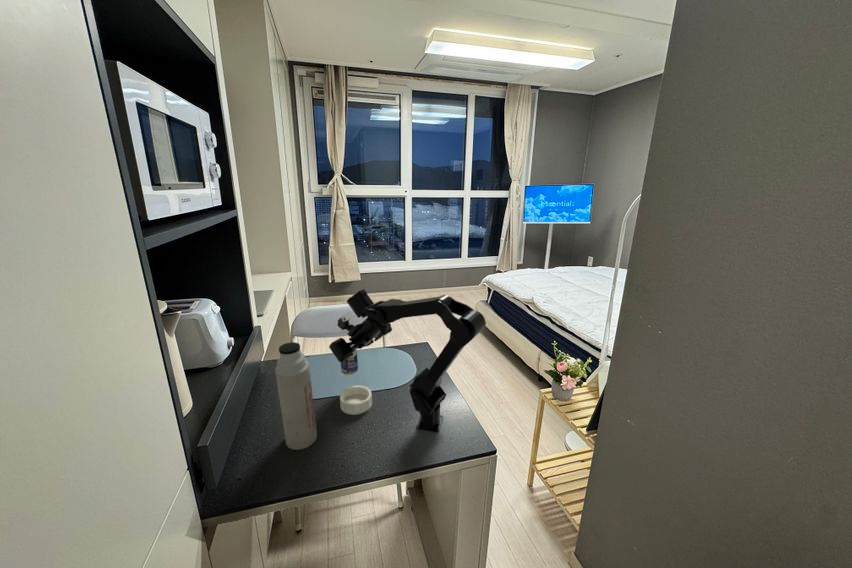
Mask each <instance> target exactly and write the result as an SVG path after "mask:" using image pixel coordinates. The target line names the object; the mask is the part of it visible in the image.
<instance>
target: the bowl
mask: <svg viewBox="0 0 852 568" xmlns="http://www.w3.org/2000/svg"><path fill="white" fill-rule="evenodd" d="M339 400H340V401H339V404H340V410H341V411H342V412H343V413H345V414H346V415H350V416H352V415H353V416H356V415H361V414H363V413H365V412H368V411H369V410H370V409H371V408H372V405H373V395H372V391H371V389H370V388H369V387H367V386H364V385H352V386H349V387H346V388H345V389H343V390H342V392H341V393H340V394H339Z"/></svg>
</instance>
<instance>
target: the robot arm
mask: <svg viewBox="0 0 852 568" xmlns="http://www.w3.org/2000/svg"><path fill="white" fill-rule="evenodd" d="M346 303H347V305H348V306H349V307H350V308H351V310H352V311H348V312H347V313H344V314H343V315H342V316H340V318H339V319H337V324H336V325H337V327H338V328H340V330H342V331H345V330H346V331H348V332H347V335H348V337H349V338H348V340H349V341H346V340H345V338H342V337H339V338H338V339H336V340H334V341H332V342H331V343H330V344H329V347H328V348H329V350H331V352H332V354H333V355H334V357H335V358H336V359H337V361H338V362H339V363H341V362H343V361H345V360H347V359H348V358H350V357H351V356H353V355H354V354H353V352H354V349H356V350H358V349H359V350H361V349H363V348H365V347H368V346H371V345H372V344H374V342H377V341H378V340H380V339H382V338H383V337H384V336H387V335H388V334H390V333H391V332H392V331H393V328H392V324H391V323H394V322H396V321H398V320H401V319H404V318H405V319H406V318H411V317H412V318H413V317H423V316H429V315H437V316H438V317H439V318H440V320H441V321H442V323H443V324H444V325H445V327H446V329H448V330H449V331H450V333H449V338H448V339H449V340H448V342H446V344H445V346H444V347H443V349H442V350H441V352H440V353H439V355H438V356H437V357H436V359H435V361H434V362H433V363H432V365H431V366H430V368H428V367H427V366H426V367H425V368H424V369H423V370H422V371H420V372H419V373H418V374H417V375H415V377H414V379H413V381H412V383H411V384H409V387H410V389H409V394H410V397H411V401H412V404H413V406H414V409H415V411H416V412H419V419H418V421H417V424H416V428H417V429H420V430H425V431H430V432H434V433H439V432H440V429H441V426H442V422H443V420H444V415H441V403H442V402H443V401H444V400H445V399H446V397H447V394H446V392H445V391H444V389H443V388H442V386H441V384H442V378H443V377H444V375H445V373H446V372H447V371H448V369H449V368H450V367H451V365H452V364H453V363H454V361H455V360H456V359H457V357H458V356H459V354H460V353H461V352H462V350H463V349H464V348H465V347H466V345H468V344H469V343H470V342H471V341H472V340H474V339H475V337H476V336H478V335H479V334H480V333H481V332H482V331H483V330H484V329H485V327H486V325H487V321H486V319H485V317H484V315H483V314H482V313H481V312H480V311H479V310H475V309H474V308H473V307H471V306H470V305H468V304H465V303H463V302H461V301H459V300H456V299H454V298H453V297H452V296H450V295H449V294H443V295H440V296H435V297H434V296H433V297H427V298H423V299H422V298H421V299H415V300H408V301H406V300H402V299H401V298H400V299H398V298H397V299H396V298H390V299H388V300H378V301H377V302H373V300H372V299H371V297H370V296H369V294H368V293H367V291H366V290H365V289H364V288H362V289H360V290H358V291H357V293H354V294H353V295H352V296H350V297H349V298H347V300H346ZM455 315H457V316H460V317H459V318H458V317H456V316H455ZM365 317H366V318H365ZM364 318H365V319H364ZM362 319H364V320H362ZM347 342H349V343H347ZM352 345H353V346H352ZM351 346H352V347H351Z"/></svg>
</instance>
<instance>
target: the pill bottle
mask: <svg viewBox="0 0 852 568" xmlns="http://www.w3.org/2000/svg"><path fill="white" fill-rule="evenodd" d="M346 342H347V343H349V342H350V341H346ZM352 346H353V345H352ZM352 346H351V347H352ZM353 354H354V355H353V356H351V357H350V358H348V359H347V360H345V361H343V362H340V369H341V370H340V371H341V373H342V375H344V376H353V375H355V374H357V373H358V372H359V361H358V349H354V352H353Z"/></svg>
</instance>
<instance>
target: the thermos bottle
mask: <svg viewBox="0 0 852 568" xmlns="http://www.w3.org/2000/svg"><path fill="white" fill-rule="evenodd" d="M278 352H279V357H278V358H277V361H276V367H275V369H274V371H275V372H274V373H275V377H276V385H277V391H278V398H279V405H280V411H281V418H282V425H283V432H284V433H283V434H284V439H285V445H286V446H287V447H288V448H289V449H290V450H297V451H298V450H304V449H306V448H308V447H310V446H311V445H312V444H314V442H316V440H317V438H318V432H317V424H316V413H315V406H314V405H315V404H314V395H313V388H312V378H311V369H310V363H309V361H308V360H307V358H306V355H305V354H304V353H303V352H302V350H301V345H300V343H298V342H293V341H292V342H287V343H283V344H281V345H280V346H279V348H278Z"/></svg>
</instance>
